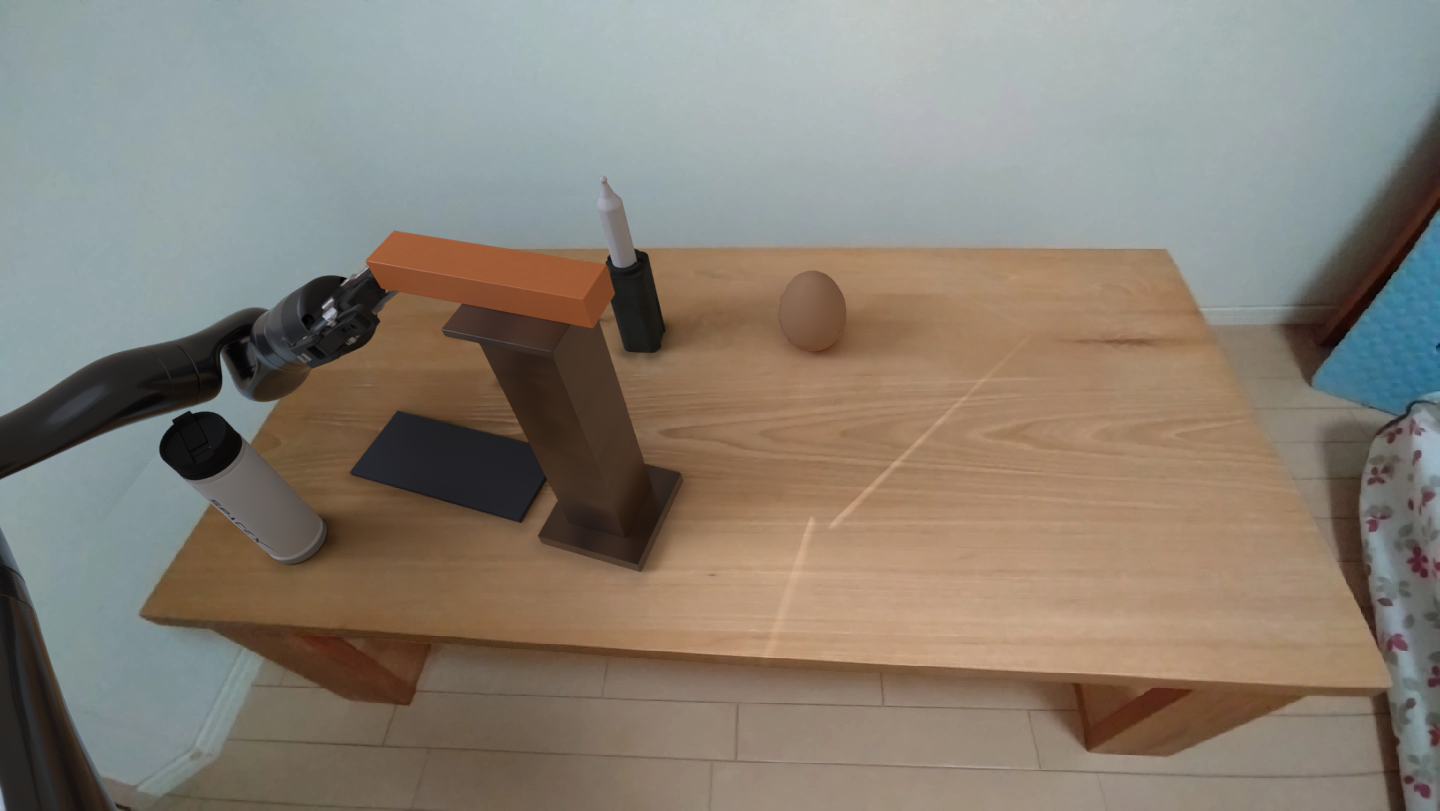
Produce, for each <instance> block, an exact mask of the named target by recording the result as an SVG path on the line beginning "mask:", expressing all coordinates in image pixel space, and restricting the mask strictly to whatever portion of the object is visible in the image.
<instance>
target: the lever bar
mask: <svg viewBox="0 0 1440 811" xmlns="http://www.w3.org/2000/svg"><path fill="white" fill-rule="evenodd" d="M364 262H365V263H366V266H367V265H368V267H369V268H370V270H371V272H372V273H373V275H374V277H375V278H376V280H377V282H378V283H379V285H380V287H381V288H382V289H386V291H387V290H388V291H389V290H392V291H398V292H399V293H402V294H403V293H404V294H409V295H414V296H419V297H423V298H430V299H435V300H441V301H446V302H451V303H455V304H456V303H457V304H460V305H461V304H466V305H472V306H477V307H482V308H488V309H493V310H498V311H503V312H509V313H514V314H519V315H525V316H530V317H535V318H540V319H546V320H551V321H556V322H562V323H567V324H572V325H578V326H583V327H588V328H594V326H595V324H596V323H597V321H598V320H599V321H600V319H601V317H602V315H603V314H604V312H605V310H606V309H607V307H608V306H609V304H611V299H612V298H613V296H614V295H615V292H614V288H613V285H612V281H611V278H610V274H609V271H608V268H607V265H606V263H599V262H594V261H588V260H583V259H582V260H581V259H576V258H575V259H574V258H570V257H569V258H568V257H562V256H556V255H551V254H544V253H537V252H531V251H525V250H519V249H512V248H505V247H501V246H500V247H499V246H494V245H487V244H480V243H475V242H468V241H463V240H462V241H461V240H455V239H449V238H444V237H437V236H431V235H424V234H418V233H414V232H413V233H412V232H406V231H399V230H393V231H392V232H391V233H389V235H388V236H387V237H386V238H385V239H384V240H383V241H382V242H381V243H380V244H379V245H378V246H377V248H376V249H375V250H374V251H372V252H371V254H370V255H369V256H368V257H367V258H365V261H364Z"/></svg>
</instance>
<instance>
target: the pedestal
mask: <svg viewBox="0 0 1440 811" xmlns="http://www.w3.org/2000/svg"><path fill="white" fill-rule="evenodd" d="M607 268H608V271H609V274H611V272H610V268H609V266H607ZM603 331H604V330H603V328H602V325H601V322H600V319H599V320H598V321H597V323H596V324H595V326H594V328H588V327H583V326H578V325H572V324H567V323H562V322H556V321H551V320H546V319H540V318H535V317H530V316H525V315H519V314H514V313H509V312H503V311H498V310H493V309H488V308H482V307H477V306H472V305H466V304H461V303H460V305H459V306H458V308H457V309H456V310H455V312H454V313H453V314H452V315H451V316H450V318H449V319H448V320H447V322H446V323H445V324H444V325H443V326H442V328H441V332H442V333H443V335H444V337H446V338H451V339H457V340H461V341H466V342H470V343H475V344H479V346H480V347H481V350H482V352H483V354H484V356H485V358H486V360H487V362H488V364H489V366H490V368H491V371H492V372H493V375H494V376H495V377H496V380H497V382H498V384H499V386H500V388H501V390H502V392H503V394H504V396H505V398H506V400H507V402H508V404H509V406H510V408H511V410H512V412H513V414H514V416H515V418H516V420H517V422H518V425H519V426H520V428H521V430H522V432H523V434H524V436H525V438H526V440H527V443H529V444H530V446H531V448H532V450H533V452H534V454H535V456H536V458H537V460H538V462H539V464H540V466H541V468H542V470H543V472H544V474H545V476H546V478H547V479H546V481H547V482H548V484H549V486H550V488H551V490H552V492H553V494H554V496H555V498H556V502H555V504H554V506H553V508H552V510H551V512H550V513H549V515H548V516H547V518H546V520H545V522H544V524H543V526H542V527H541V529H540V531H539V533H538V534H537V538H538V539H539V541H540V543H541V544H543V545H546V546H550V547H553V548H557V549H560V550H563V551H567V552H571V553H574V554H577V555H579V556H583V557H587V558H591V559H595V560H598V561H601V562H605V563H607V564H612V565H615V566H618V567H622V568H626V569H629V570H632V571H636V572H639V573H641V572H642V571H643V568H644V566H645V564H646V562H647V559H648V557H649V555H650V553H651V550H652V549H653V547H654V544H655V542H656V540H657V538H658V536H659V533H660V531H661V529H662V527H663V524H664V523H665V521H666V518H667V516H668V514H669V511H670V510H671V508H672V505H673V503H674V501H675V499H676V497H677V495H678V492H679V491H680V488H681V486H682V484H683V482H684V479H683V476H682V472H680V471H677V470H672V469H668V468H664V467H660V466H656V465H652V464H648V463H645V460H644V457H643V453H642V450H641V446H640V443H639V441H638V438H637V434H636V432H635V428H634V425H633V422H632V419H631V416H630V413H629V410H628V407H627V404H626V400H625V397H624V393H623V391H622V388H621V384H620V381H619V378H618V375H617V372H616V369H615V365H614V363H613V359H612V357H611V353H610V350H609V347H608V343H607V340H606V337H605V334H604V332H603Z"/></svg>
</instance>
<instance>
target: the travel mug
mask: <svg viewBox="0 0 1440 811" xmlns="http://www.w3.org/2000/svg"><path fill="white" fill-rule="evenodd" d="M171 421H172V425H170V426H169V428H168V429H167V430H166V431H165V432H164V433H163V435H162V437H161V439H160V441H159V446H158V452H159V456H160V458H161V459H162V461H163V462H164V463H165V464H167V465H168V466H169V467H170V468H171V469H172V470H174V471H175V472H176V473H177V475H179V476H180V477H181V478H182V479H183V480H184V481H185V482H186V483H187V484H188V485H190V486H191V488H193V489H194V490H195V491H196V492H198V493H199V495H200V496H202V497H203V498H204V499H205V500H206V501H207V502H209V503H210V504H211V505H212V506H213V507H215V508H216V509H217V510H218V511H219V512H220V513H221V514H223V515H224V516H225V517H226V518H227V519H228V520H229V521H230V522H232V523H233V524H234V525H235V526H236V527H237V528H238V529H240V531H242V532H243V533H244V534H245V535H246V536H247V537H248V538H250V539H251V540H252V541H253V542H254V543H255V544H257V545H258V546H259V547H260V548H261V549H262V550H263V551H265V552H266V553H267V554H268V555H269V556H270V557H271V558H272V559H273V560H275V561H276V562H277V563H279V564H282V565H295V564H299V563H302V562H305V561H306V560H308V559H309V558H311V557H312V556H313V555H315V554H316V553H317V552H318V551H319V550H320V549H321V548H322V547H323V545H324V542H325V540H326V537H327V533H328V528H327V524H326V522H325V521H324V520H323V519H322V518H321V517H320V515H318V514H317V513H316V512H315V511H314V509H313V508H312V507H311V506H310V504H308V503H307V502H306V501H305V500H304V499H303V498H302V497H301V496H300V494H298V493H297V492H296V491H295V490H294V488H293V487H291V485H289V483H288V482H287V481H286V480H285V478H283V477H282V476H281V475H280V474H279V473H278V472H277V471H276V470H275V469H274V468H273V467H272V466H271V465H270V464H269V463H268V461H267V460H266V459H264V458H263V456H262V455H261V454H260V453H259V452H258V451H257V450H256V449H255V448H254V447H253V446H252V445H251V444H250V442H248V441H247V440H246V439H245V438H244V437H243V436H242V435H241V433H239V432H238V431H237V430H235V428H234V427H233V426H232V425H231V424H230V423H229V422H228V421H227V420H226V418H224V416H222V415H221V414H220V413H217V412H214V411H209V410H208V411H207V410H206V411H196V412H194V413H193V412H192V411H191V410H186V411H185V412H183V413H182V414H180V415H178V416H176V417H174V418H173V419H171Z"/></svg>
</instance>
